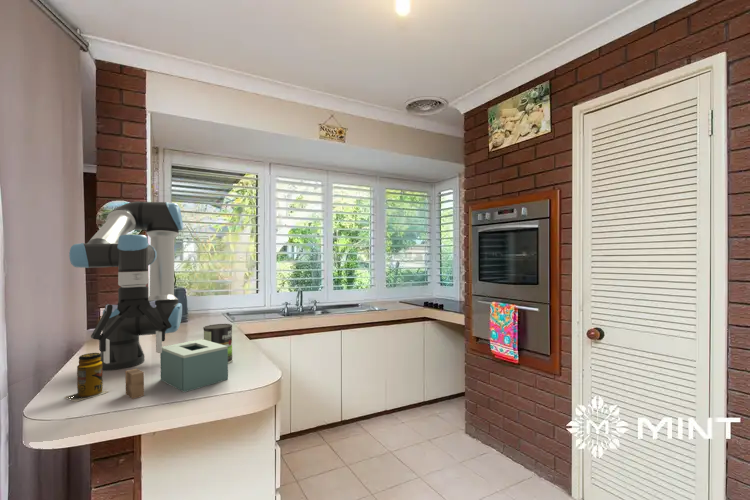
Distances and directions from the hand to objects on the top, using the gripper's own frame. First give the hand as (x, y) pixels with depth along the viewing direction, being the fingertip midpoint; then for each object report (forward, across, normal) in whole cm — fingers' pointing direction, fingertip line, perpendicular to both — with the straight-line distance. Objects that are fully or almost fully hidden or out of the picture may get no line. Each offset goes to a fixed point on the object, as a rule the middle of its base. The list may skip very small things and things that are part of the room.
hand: (134, 357), depth 109 cm
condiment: (+11, -9, +12) cm, 19 cm away
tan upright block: (+11, 0, 0) cm, 11 cm away
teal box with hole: (+11, +17, 0) cm, 21 cm away
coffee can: (+11, +32, +12) cm, 36 cm away
